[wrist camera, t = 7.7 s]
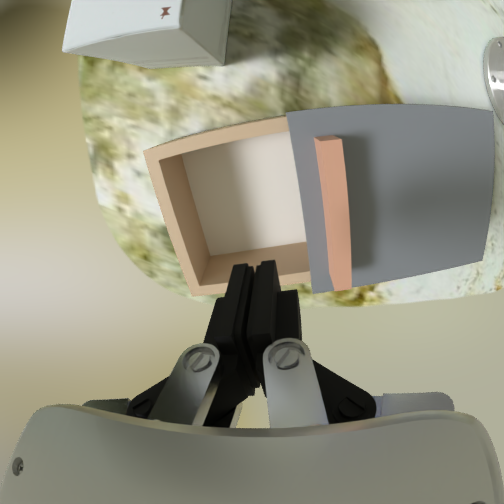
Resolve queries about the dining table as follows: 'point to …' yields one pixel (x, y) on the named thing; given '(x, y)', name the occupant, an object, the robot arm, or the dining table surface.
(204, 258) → the box
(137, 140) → the dining table surface
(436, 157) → the lid
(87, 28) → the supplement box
